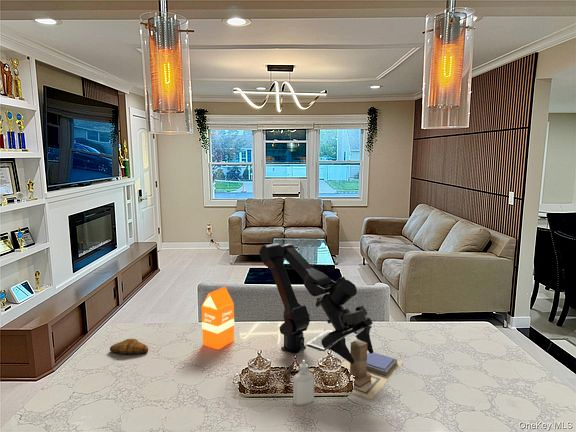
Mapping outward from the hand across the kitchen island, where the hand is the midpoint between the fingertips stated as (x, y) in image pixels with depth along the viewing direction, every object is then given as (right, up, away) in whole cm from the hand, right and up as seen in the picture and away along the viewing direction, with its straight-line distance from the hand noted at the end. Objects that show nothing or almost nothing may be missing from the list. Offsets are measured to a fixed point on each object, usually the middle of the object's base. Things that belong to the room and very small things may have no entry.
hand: (363, 358), depth 118 cm
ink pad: (+7, -6, +11) cm, 15 cm away
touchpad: (-8, -5, +29) cm, 31 cm away
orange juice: (-48, -4, +28) cm, 55 cm away
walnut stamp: (-1, -8, +2) cm, 8 cm away
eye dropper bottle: (-18, -9, -8) cm, 22 cm away
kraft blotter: (+2, -7, +8) cm, 11 cm away
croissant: (-77, -5, +20) cm, 80 cm away
